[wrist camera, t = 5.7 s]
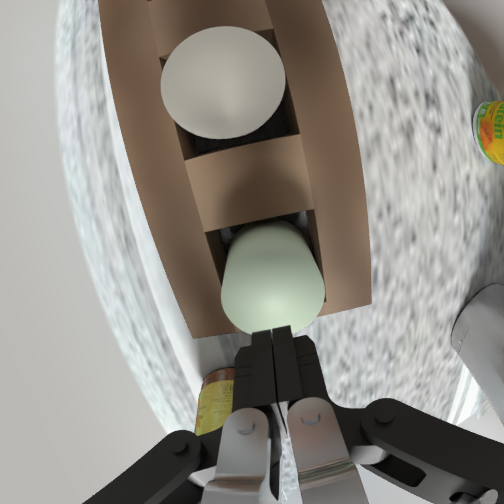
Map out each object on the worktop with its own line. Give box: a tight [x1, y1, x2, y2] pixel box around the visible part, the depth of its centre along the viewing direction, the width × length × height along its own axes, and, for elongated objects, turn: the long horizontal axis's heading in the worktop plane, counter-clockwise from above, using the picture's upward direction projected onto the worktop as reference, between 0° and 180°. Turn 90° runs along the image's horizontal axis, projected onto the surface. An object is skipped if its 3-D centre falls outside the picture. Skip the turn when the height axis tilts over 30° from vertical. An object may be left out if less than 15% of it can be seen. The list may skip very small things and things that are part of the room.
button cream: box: [161, 26, 285, 139], centre depth 12 cm, size 5×5×5 cm
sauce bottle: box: [194, 368, 235, 436], centre depth 17 cm, size 6×6×20 cm
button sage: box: [221, 218, 325, 335], centre depth 16 cm, size 5×5×5 cm
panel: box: [98, 0, 371, 339], centre depth 14 cm, size 12×28×4 cm, turn 13°
